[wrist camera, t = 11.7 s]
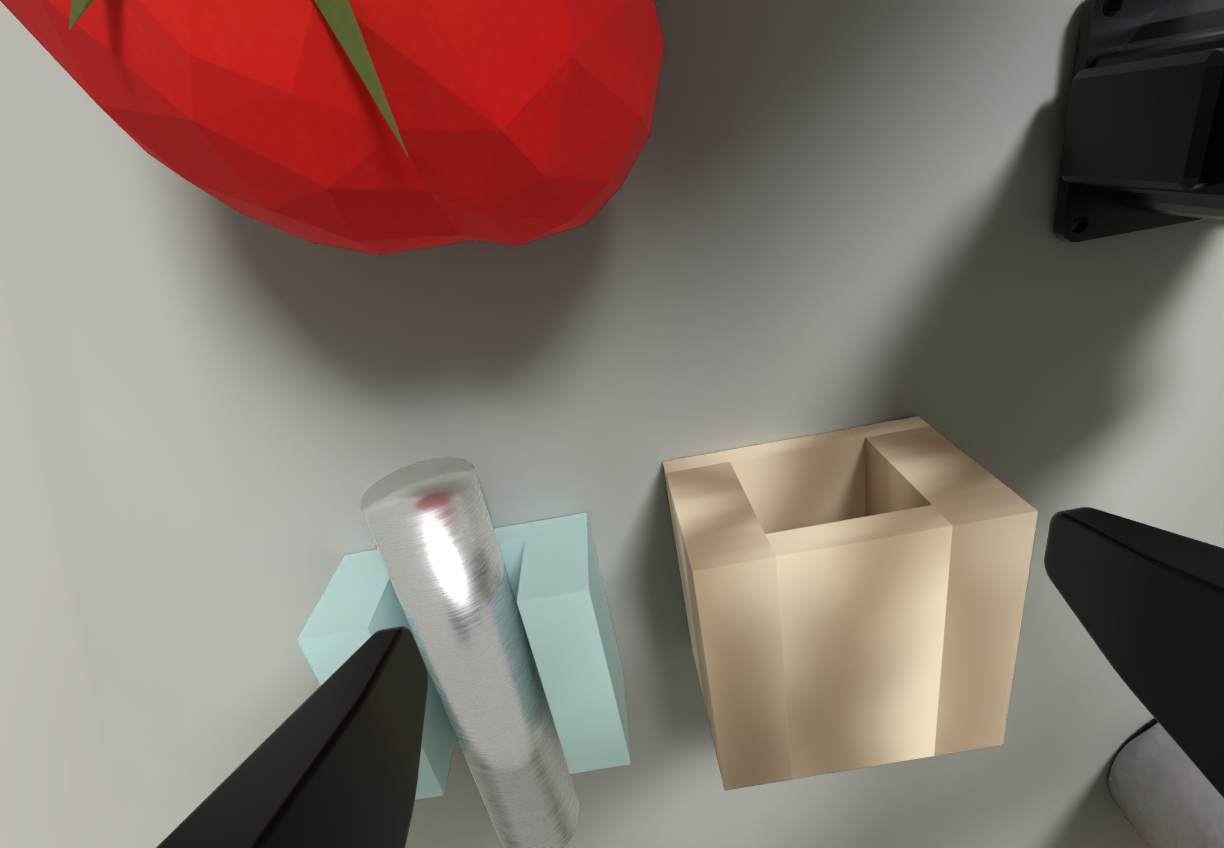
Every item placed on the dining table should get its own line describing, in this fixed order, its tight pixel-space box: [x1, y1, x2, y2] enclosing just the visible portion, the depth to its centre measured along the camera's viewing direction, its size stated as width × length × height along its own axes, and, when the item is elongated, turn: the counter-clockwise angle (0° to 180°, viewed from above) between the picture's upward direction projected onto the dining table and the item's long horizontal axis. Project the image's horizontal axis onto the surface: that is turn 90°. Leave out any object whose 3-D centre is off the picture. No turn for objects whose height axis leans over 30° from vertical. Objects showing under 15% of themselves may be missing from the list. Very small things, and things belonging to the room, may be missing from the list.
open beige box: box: [663, 416, 1038, 790], centre depth 20 cm, size 9×9×6 cm
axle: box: [360, 458, 579, 848], centre depth 21 cm, size 16×3×3 cm, turn 10°
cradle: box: [297, 512, 631, 800], centre depth 22 cm, size 9×8×4 cm
